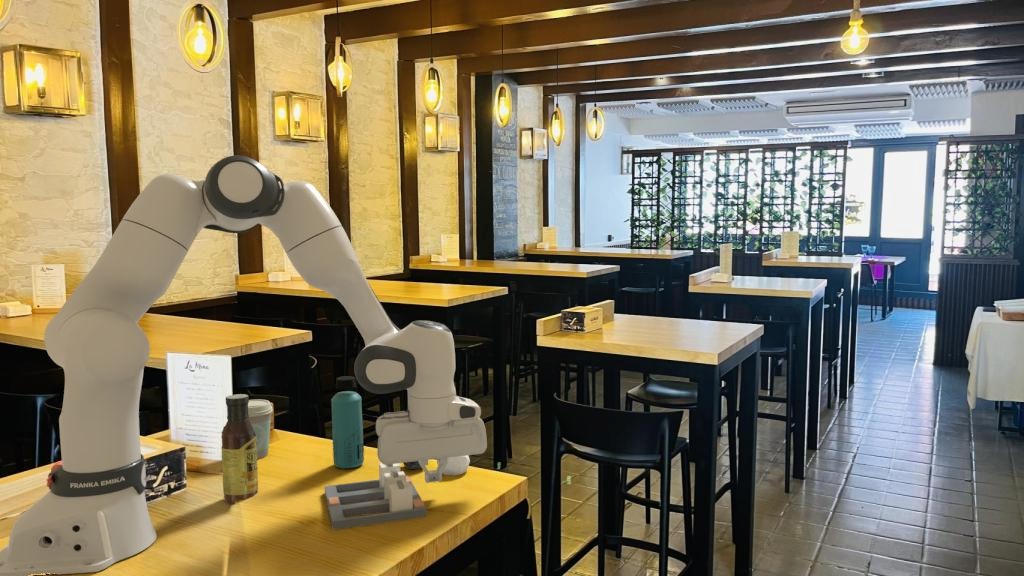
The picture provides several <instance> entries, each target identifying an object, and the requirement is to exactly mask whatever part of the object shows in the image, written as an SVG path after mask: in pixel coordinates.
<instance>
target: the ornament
mask: <svg viewBox="0 0 1024 576" xmlns="http://www.w3.org/2000/svg"><path fill="white" fill-rule="evenodd" d="M470 462H471V460H470V455H466V456H457V457H449V458H448V463H447V465H446V467H445V469H444V470H443V472H442V475H444V476H459V475H462V474H465V473H466V472H468V469H469V465H470ZM436 463H437V466H438V465H439V463H440V462H439V461H438V459H436Z"/></svg>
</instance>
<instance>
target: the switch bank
mask: <svg viewBox="0 0 1024 576" xmlns="http://www.w3.org/2000/svg"><path fill="white" fill-rule="evenodd" d="M408 482H409V483H410V485H411V487H412V502H413V509H410V510H403V511H396V512H390V509H389V499H385V497H384V487H383V488H380V481H379V479H371V480H364V481H355V482H349V483H348V482H347V483H340V484H331V485H324V498H325V500H326V505H327V510H328V514H329V520H330V523H331V529H332V530H333V531H334V530H342V529H347V528H355V527H362V526H368V525H370V526H371V525H376V524H383V523H389V522H397V521H398V522H399V521H405V520H411V519H419V518H425V517H428V514H427V513H428V511H427V507H426V505H425V503H424V501H423V500H422V498H421V495H420V494H419V492H418V490H417V489H416V486H415V485H414V483H413V482H412V480H411V478H410V477H409V475H406V483H408Z"/></svg>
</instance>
